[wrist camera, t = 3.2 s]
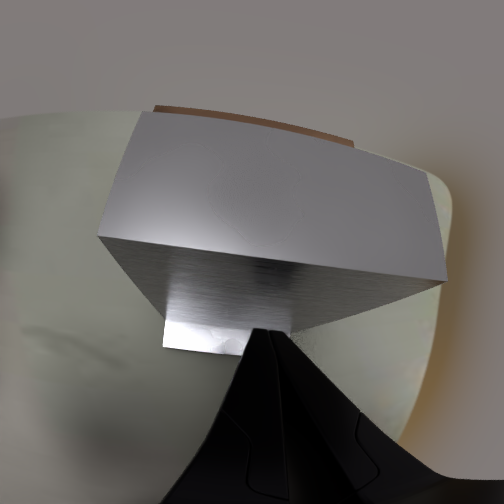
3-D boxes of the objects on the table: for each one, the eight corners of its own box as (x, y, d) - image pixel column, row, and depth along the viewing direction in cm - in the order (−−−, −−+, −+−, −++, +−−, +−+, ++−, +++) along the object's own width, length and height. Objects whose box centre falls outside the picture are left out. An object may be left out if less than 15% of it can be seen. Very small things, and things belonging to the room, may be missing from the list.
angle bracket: (283, 358, 14) (451, 346, 4) (165, 346, 13) (78, 323, 3) (287, 266, 16) (412, 133, 6) (178, 252, 15) (161, 74, 5)
